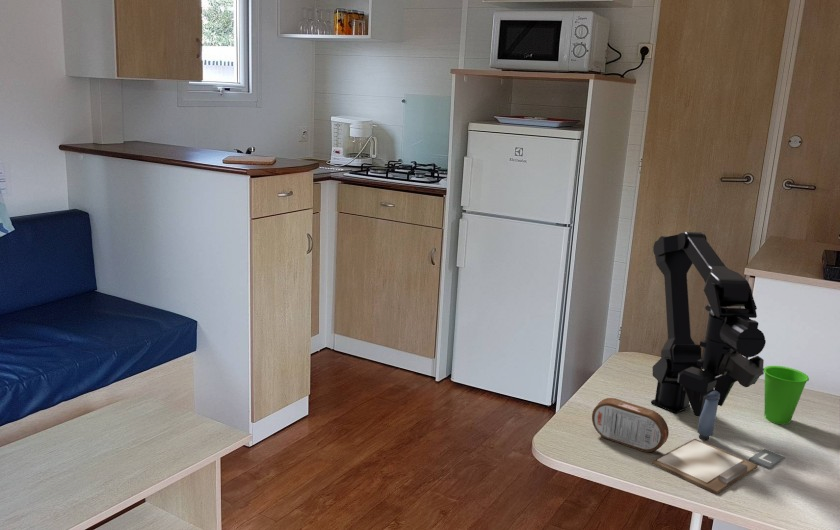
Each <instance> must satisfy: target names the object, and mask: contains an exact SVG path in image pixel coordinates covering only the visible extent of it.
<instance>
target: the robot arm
mask: <svg viewBox="0 0 840 530" xmlns="http://www.w3.org/2000/svg"><path fill="white" fill-rule="evenodd" d="M652 248H653V250H652V251H653V255H654V258H655V265H656V267H657V268H658V269H659V270H660V272H661V273H662V275H663V277H664V292H665V309H666V310H665V311H666V328H667V340H666V341H665V343H664V345H663V346H662V349H661V351H660V353H661V354H660V359H659V360H657V362H656V363H654V365H653V366H652V377H653V378H654V379H656V380H657V384H656V391H655V398H654V399H652V400H651V401H650V403H651V404H652V405H655V406H657V407H660V408H663V409H664V410H668V411H670V412H672V413H674V414H677V413H680V412H681V411H683V410H686V409H689V408H690V407H691V409H692V412H693V416H695V417H697V418H700V415H701V412H702V410H703V407H704V403H705V400H706V397H707V395H708V394H710V393H712V392H713V391H717V392H719V393H720V398H719V401H718V406H719V407H722V406H723V405H724V403H725V401H726V400H727V397H728V395H729V393H730V392H731V390H732V388H733V386H734V384H735V383H736V382H738V383H739V385H740V386H742V387H744V388H749V387H750V386H753V385H755V384H756V383H757V381H758V380H759V378H760V377H762V376H763V375H765V372H764V371H763V370H764V368H765V367H764V361H765V360H764V359H763V358H762V357H760V356H759V354H761V352H762V351H763V349H764V348H765V347H766V344H767V343H766V336H765V335H764V333H763V331H762V330H760V329H759V322H758V321H756V320H755V319H756V318H757V317H758V315H757V309H758V308H757V305H756V301H755V298H754V296H753V290H752V287H751V285H750V283H749V281H748V280H747V279H746V278H745V277H744V276H743V275H742V274H741V273H739V272H737V271H735V270H733V269H729V267H727V266H726V264H724V262H723V260H722V259H721V258H720V256H719V255H718V254H717V252H716V251H715V250H714V249H713V247H712V246H711V244H710V243H709V242H708V239H707V235H706V234H705V233H702V232H701V231H700V232H697V231H695V232H693V231H683V232H680V233H678V234H674V235H669V236H667V235H662V236H660V237H659V238H658V239H657V240H656V241H655V242H654V243H653V247H652ZM692 265H693V266H694V267H695V269H696V271H697V272H698V273H699V274H700V276H701V277H702V279H703V281H704V283H705V285H704V288H703V293H704V294H705V296H706V298H707V301H708V304H707V305H705V307H704V309H705V310H706V311H707V312H708V313H709V314H708V319H707V326H706V331H705V337H704V339H703V340H701V341H700V342H699V344H697V343H695V342H694V341H695V340H694V339H693V338H692V335H691V333H692V332H691V331H692V330H691V319H690V316H691V315H690V301H689V287H688V273H689V271H690V269H691V268H692ZM702 349H703V350H702Z"/></svg>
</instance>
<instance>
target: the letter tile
mask: <svg viewBox="0 0 840 530" xmlns="http://www.w3.org/2000/svg"><path fill="white" fill-rule="evenodd" d="M784 459H786V456H784V455H782V454H779V453H777V452H774V451H772V450H769V449H766V448H763V449H762V450H760V451H759V452H757V453H756V454H753V455H752V456H751V457H749V458H748V461H749V462H752V463H754V464H756V465H758V466H761V467H763V468H765V469H768V470H770V469H771V468H772V467H774V466H775V465H777V464H779V463H781V462H782V461H784Z"/></svg>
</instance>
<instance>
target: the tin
mask: <svg viewBox="0 0 840 530" xmlns="http://www.w3.org/2000/svg"><path fill="white" fill-rule="evenodd" d="M591 421H592V424H593V427H594V429H595V431H597V433H598V435H600V436H601V437H603V438H604V439H606V440H609V441H612V442H615V443H617V444H620V445H623V446H626V447H629V448H632V449H634V450H638V451H641V452H646V453H652V452H655V451H657V450H659V449H660V448H661V447H662V446H663V445H664V444H666V442H667V441H668V439H669V435H670V434H669V426H668V424H667V421H666V420H665V419H664V417H663V416H662V415H661V414H660V413H659V412H657V411H655V410H654V409H650V408H648V407H647V408H646V407H644V406H641V405H638V404H634V403H631V402H629V401H628V402H627V401H625V400H622V399H619V398H615V397H607V398H604V399H602V400H600V401H599V402H598V403H597V405H595V407H594V409H593V410H592V414H591Z"/></svg>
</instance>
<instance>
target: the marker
mask: <svg viewBox="0 0 840 530" xmlns="http://www.w3.org/2000/svg"><path fill="white" fill-rule="evenodd" d="M719 398H720V393H719V392H717V391H713V392H712V393H710V394H708V395H707V397H706V400H705V403H704V407H703V410H702V412H701V415H700V417H698V424H697V433H698V437H699V440H700V441H701V440H702V441H710V438H711V437H712V436H714V430H715V429H714V428H715V423H716V419H717V418H716V417H717V412H718V406H719V405H718V401H719Z"/></svg>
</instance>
